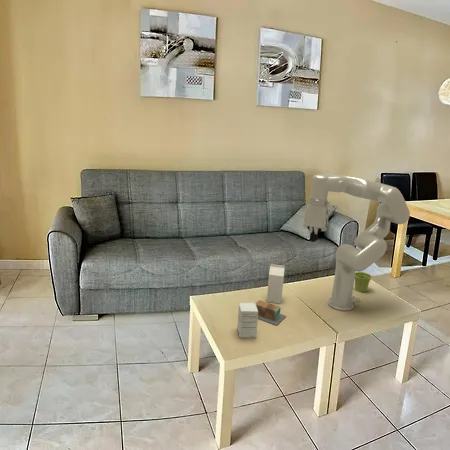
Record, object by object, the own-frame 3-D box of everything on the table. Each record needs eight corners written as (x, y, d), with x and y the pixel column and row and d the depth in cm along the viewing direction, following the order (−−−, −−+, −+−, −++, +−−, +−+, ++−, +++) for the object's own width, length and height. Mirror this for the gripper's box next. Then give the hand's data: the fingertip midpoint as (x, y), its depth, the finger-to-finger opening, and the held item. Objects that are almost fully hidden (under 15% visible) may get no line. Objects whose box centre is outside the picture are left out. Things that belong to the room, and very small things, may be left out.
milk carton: (280, 304, 193) (284, 268, 187) (266, 302, 194) (269, 266, 189) (281, 297, 199) (285, 263, 194) (267, 295, 201) (271, 261, 195)
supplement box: (236, 328, 169) (238, 302, 165) (253, 328, 170) (255, 302, 166) (238, 338, 162) (240, 311, 158) (256, 338, 163) (258, 311, 159)
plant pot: (348, 289, 213) (350, 274, 211) (357, 284, 220) (359, 270, 217) (364, 295, 207) (366, 280, 204) (372, 290, 213) (375, 276, 211)
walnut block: (280, 306, 178) (259, 299, 184) (276, 311, 174) (254, 303, 180) (279, 316, 180) (258, 309, 185) (275, 321, 176) (253, 313, 181)
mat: (286, 316, 181) (286, 315, 181) (276, 325, 173) (276, 324, 172) (259, 307, 188) (259, 306, 188) (249, 316, 180) (249, 315, 180)
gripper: (336, 203, 173) (331, 242, 178) (305, 198, 181) (301, 235, 186) (331, 206, 167) (326, 246, 172) (299, 201, 174) (294, 239, 180)
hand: (313, 241), depth 179 cm, fingers closed
